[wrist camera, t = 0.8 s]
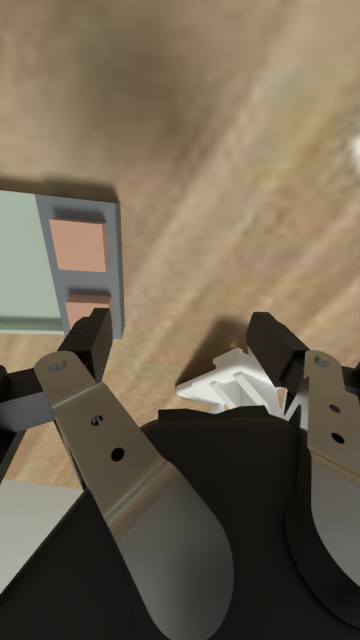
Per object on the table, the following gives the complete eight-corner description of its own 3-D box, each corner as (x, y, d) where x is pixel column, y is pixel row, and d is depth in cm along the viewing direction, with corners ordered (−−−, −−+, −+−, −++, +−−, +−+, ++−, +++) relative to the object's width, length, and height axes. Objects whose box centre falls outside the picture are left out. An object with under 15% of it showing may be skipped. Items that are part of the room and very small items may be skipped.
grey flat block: (51, 195, 24) (34, 194, 21) (119, 203, 25) (114, 203, 22) (74, 324, 33) (65, 338, 30) (124, 325, 34) (121, 338, 31)
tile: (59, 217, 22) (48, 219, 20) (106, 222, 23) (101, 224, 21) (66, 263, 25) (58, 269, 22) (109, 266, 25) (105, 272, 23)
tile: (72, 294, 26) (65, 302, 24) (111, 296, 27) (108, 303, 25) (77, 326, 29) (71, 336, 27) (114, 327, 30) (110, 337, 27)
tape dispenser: (215, 378, 50) (213, 438, 43) (177, 363, 46) (167, 426, 39) (289, 351, 36) (306, 434, 28) (242, 325, 32) (246, 414, 24)
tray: (-62, 183, 23) (-89, 180, 20) (47, 195, 24) (35, 194, 22) (-6, 322, 31) (-20, 332, 29) (71, 324, 33) (64, 334, 30)
